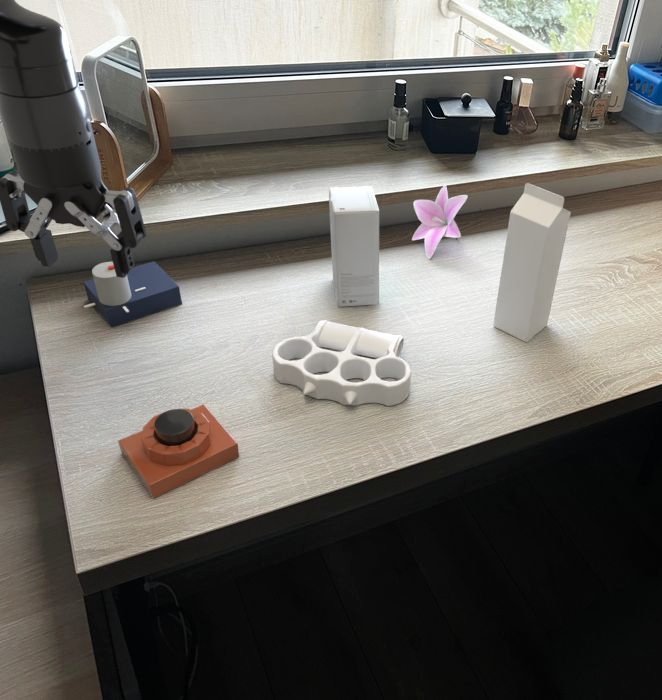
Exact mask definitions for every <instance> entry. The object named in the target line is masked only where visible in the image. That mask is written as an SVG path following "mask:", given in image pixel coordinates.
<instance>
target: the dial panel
mask: <svg viewBox="0 0 662 700" xmlns="http://www.w3.org/2000/svg"><path fill="white" fill-rule="evenodd" d="M127 278H128V282H129V287H130V291H131V298H130V300H129V301H128V302H126V303H124V304H121V305H117V306H107V305H104V304H102V303H101V302H100V301H99V297H98V293H97V289H96V286H95V282H94V278H93V279H89V280H86V281H83V286H84V290H85V293H86V297H87V300H88V302H89V304H86V305H83V309H87V308H90V307H94V309H95V310H96V311H97V312H98V314H99V315H100V316H101V318H103V320H104V321H105V322H106V323H107V325H108V326H109V328H115V327H117V326H120V325H123V324H126V323H129V322H132V321H135V320H138V319H141V318H144V317H147V316H150V315H153V314H156V313H159V312H162V311H165V310H169V309H171V308H174V307H176V306H180V305H182V304H183V301H182V295H181V291H180V286H179V285H178V284H177V283H176V281H174V279H173V278H172V277H171V276H170V275H168V274H167V272H166V271H165V270H164V269H162V267H161V266H159V264H157V262H156V261H150V262H146V263H143V264H140V265H137V266H134V268H133V269H132V270H131V271H130V272H129V273H128V274H127Z"/></svg>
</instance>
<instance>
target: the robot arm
mask: <svg viewBox="0 0 662 700" xmlns="http://www.w3.org/2000/svg"><path fill="white" fill-rule="evenodd" d="M84 97H85V96H84V94H83V92H82V89H81V87H80V84H79V79H78V76H77V71H76V67H75V63H74V58H73V54H72V51H71V46H70V42H69V37H68V35H67V32H66V31H65V28H64V27H63V26H62V25H61V24H60V22H58V21H56V19H53V18H51V17H49V16H46V15H44V14H41V13H37V12H35V11H32V10H30V9H28V8H25V7H24V6H22V5H20V4H19V3H18V2H17V1H16V0H0V117H1V120H2V124H3V127H4V130H5V134H6V137H7V139H8V140H7V141H8V142H9V146H10V149H11V152H12V155H13V159H14V162H15V165H16V168H17V171H15V170H11V171H9V172H8V173H6V174H5V175H4V176H2V177H1V178H0V206H1V210H2V213H3V218H4V220H5V224H6V227H7V228H8V229H9V230H10V231H12V232H17V231H20V232H23V233H24V235H25V236H26V237H27V238H28V239H29V240H30V243H31V247H32V249H33V252H34V256H35V257H36V259H37V261H39V262H40V264H41V266H42V267H46V268H51V267H52V266H53V265H54V264H55V263H56V262H57V261H58V260H59V252H58V249H57V246H56V243H55V239H54V237H53V233H52V230H51V229H47V228H48V227H49V225H50V224H51V222H52V221H54V222H55V224H58V225H67V224H70V225H72V226H75V227H80V228H85V227H86V228H87V229H88V231H89V232H91V233H92V235H94V236H95V237H100V238H101V239H102V240H103V241H104V242H105V243H106V244H107V245H108V246H109V247H110V248H111V249H110V250H109V252H110V256H111V260H112V262H113V264H114V268H115V272H116V276H117V277H121V278H125V277H126V276H127V274H128V273H129V272H130V271H131V270H132V269H133V268H134V267H135V264H136V263H135V259H134V253H133V250H132V249H135V248H136V247H137V246H138V245H139V243H141V241H143V239H144V238H146V237H147V231H146V230H147V229H146V227H145V223H144V219H143V215H142V211H141V208H140V204H139V201H138V197H137V194H136V191H135V190H134V189H133V188H131V187H125V188H124V189H123V190H110V189H108V187H106V185H105V184H104V181H103V180H102V163H101V161H100V156H99V152H98V148H97V144H96V139H95V135H94V131H93V126H92V121H91V118H90V113H89V110H88V105H87V103H86V99H85V98H84ZM26 195H27V196H26ZM27 197H29V198H30V199H31V201H33V202H34V204H35V205H36V208H35V210H34V212H33V213H32V215H31V212H30V209H29V204H28V201H27ZM108 204H109V205H110V206H111V207H110V206H109V205H108ZM99 216H101V217H102V218H103V219H102V220H103V221H102V222H101V223H100V222H99V221H98V220H97V219H98V217H99Z"/></svg>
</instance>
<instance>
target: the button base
mask: <svg viewBox="0 0 662 700" xmlns="http://www.w3.org/2000/svg"><path fill="white" fill-rule="evenodd" d="M181 409H182V410H186V411H188V412H190V413H191V414H192V415H193V418H194V423H195V428H196V432H195V435H194V437H193V438H192V439H191V440H190V441H188V442H186V443H184V444H181V445H177V446H166V445H163V444H162V443H160V442H159V441H158V439H157V435H156V431H155V427H154V423H155V420H156V419H157V417H158V416H159V415H161V414H162V413H164V412H165V411H163V412H161V413H159V414H157V415H154V416H153V417H152V418H151V419H150V420H149V421H148V422H147V423H146V424H145V425H144V426H143V427H142V430H140V431H138V432H135V433H133V434H130V435H129V436H126V437H124V438H121V439H119V440H118V441H117V443H118V446H119V450H120V453H121V455H122V457H123V459H124V460H125V461H126V463H127V464H128V465H129V467H130V468H131V470H132V471H133V472H134V474H135V476H136V477H137V478H138V480H139V481H140V483H141V484H142V486H143V487H144V488H145V490H146V491H147V492H148V494H149V495H150V496H151V498H152V499H155V498H158V497H160V496H162V495H164V494H166V493H168V492H170V491H172V490H174V489H176V488H179V487H180V486H182V485H184V484H187V483H189V482H190V481H193V480H194V479H196V478H198V477H201V476H203V475H205V474H207V473H209V472H211V471H213V470H215V469H217V468H219V467H221V466H223V465H225V464H227V463H230V462H232V461H234V460H236V459H238V458H239V457H240V451H239V444H238V442H237V440H236V439H234V438H233V436H232V435H231V434H230V432H229V431H227V429H226V428H225V427H224V426H223V424H221V422H220V421H219V419H217V418H216V416H214V414H213V413H212V412H211V411H210V410H209V409H208V407H207V406H206V405H205V404H201V405H198V406H196V407H194V408H191V409H190V408H181ZM169 410H170V409H168V410H167V411H169Z"/></svg>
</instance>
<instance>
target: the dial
mask: <svg viewBox="0 0 662 700" xmlns="http://www.w3.org/2000/svg"><path fill="white" fill-rule="evenodd" d="M91 274H92V278H93V279H94V282H95V286H96V289H97V293H98V297H99V301H100V302H101V303H102V304H104V305H107V306H117V305H121V304H124V303H126V302H128V301H129V300H130V298H131V291H130V287H129V282H128V278H127V276H126V277H125V278H121V277H117V276H116V272H115V268H114V264H113V261H104V262H100V263H98V264H96V265H95V266H94V267H93V268H92V269H91Z"/></svg>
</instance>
